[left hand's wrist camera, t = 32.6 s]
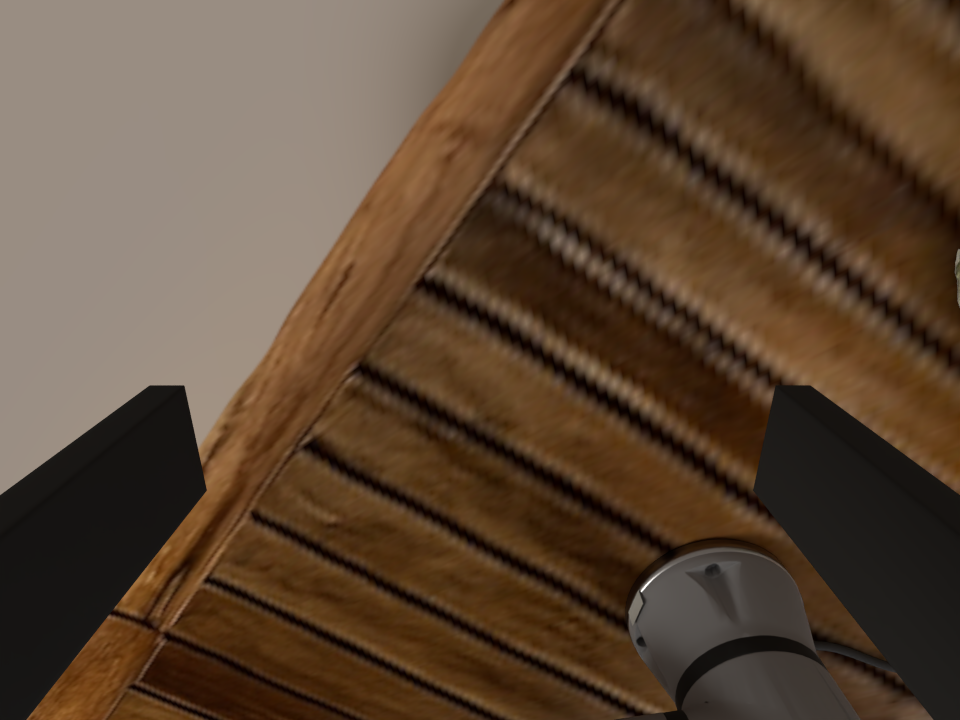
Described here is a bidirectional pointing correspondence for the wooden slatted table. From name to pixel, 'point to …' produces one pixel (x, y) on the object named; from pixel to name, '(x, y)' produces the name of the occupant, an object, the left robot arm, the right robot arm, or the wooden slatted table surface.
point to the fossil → (958, 273)
